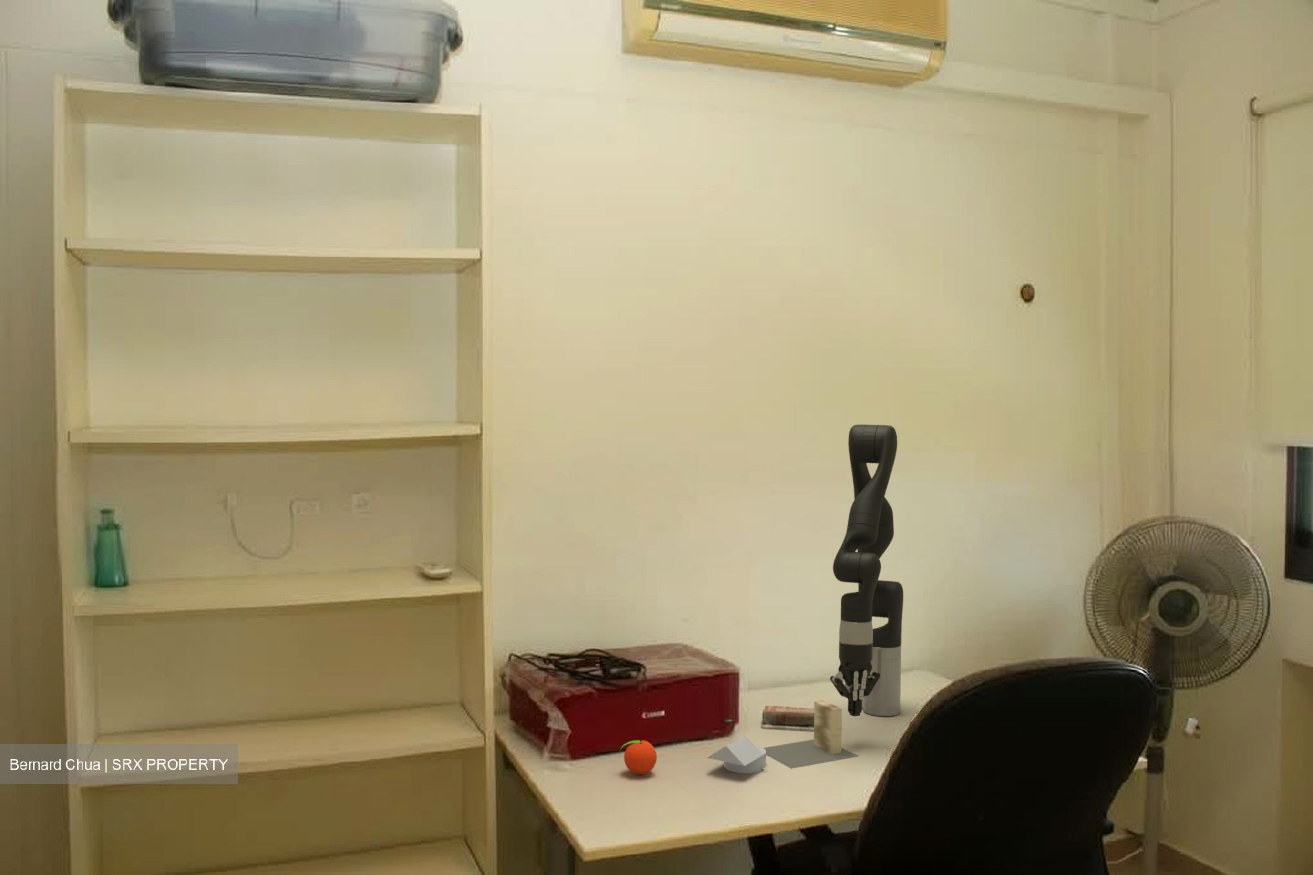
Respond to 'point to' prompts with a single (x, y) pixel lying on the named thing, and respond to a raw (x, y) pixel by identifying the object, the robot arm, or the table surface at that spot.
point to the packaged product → (788, 718)
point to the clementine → (640, 756)
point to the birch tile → (827, 727)
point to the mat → (804, 754)
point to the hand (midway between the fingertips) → (854, 715)
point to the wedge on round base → (742, 756)
